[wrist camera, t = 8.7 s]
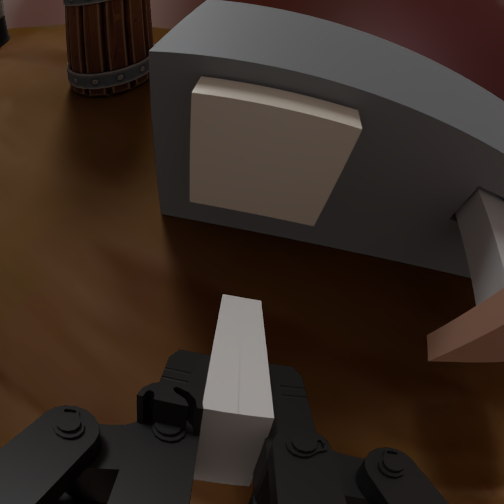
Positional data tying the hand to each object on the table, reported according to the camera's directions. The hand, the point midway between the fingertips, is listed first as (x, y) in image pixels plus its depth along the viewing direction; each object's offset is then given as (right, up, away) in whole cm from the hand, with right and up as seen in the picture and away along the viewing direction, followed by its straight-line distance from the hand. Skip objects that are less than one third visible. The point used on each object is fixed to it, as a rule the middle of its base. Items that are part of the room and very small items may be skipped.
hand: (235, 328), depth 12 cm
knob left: (+1, +10, +8) cm, 13 cm away
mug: (-17, +25, +19) cm, 36 cm away
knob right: (+14, +1, +5) cm, 15 cm away
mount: (+8, +7, +12) cm, 16 cm away
